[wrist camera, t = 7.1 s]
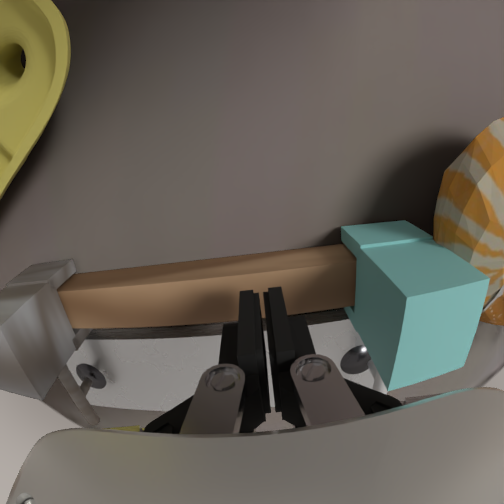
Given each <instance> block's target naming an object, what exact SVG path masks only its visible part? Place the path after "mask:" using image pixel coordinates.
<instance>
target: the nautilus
mask: <svg viewBox="0 0 504 504" xmlns="http://www.w3.org/2000/svg"><path fill="white" fill-rule="evenodd" d="M433 240H434V241H435V242H436V243H437V244H439V245H441V246H443V247H445V248H447V249H448V250H450V251H451V252H453V253H454V254H456V255H457V256H459V257H460V258H462V259H463V260H465V261H466V262H468V263H469V264H471V265H472V266H474V267H475V268H476V269H478V270H479V271H481V272H482V273H483V274H485V275H486V276H488V277H489V278H490V281H489V285H488V290H487V294H486V298H485V302H484V305H483V309H482V313H481V316H480V319H479V321H482V322H486V323H490V324H494V325H503V326H504V117H503V118H501V119H498V120H496V121H493V122H492V123H491V124H490V125H489V126H488V127H487V128H485V129H484V130H483V131H482V132H481V133H480V134H479V135H478V136H476V137H475V138H474V140H473V141H472V142H471V143H470V144H469V145H468V146H467V147H466V149H465V150H464V151H463V152H462V153H461V154H460V155H459V156H458V157H457V158H456V159H455V161H454V162H453V163H452V164H451V165H450V166H449V167H448V168H447V169H446V170H445V171H444V175H443V179H442V183H441V187H440V190H439V194H438V198H437V204H436V209H435V214H434V231H433Z"/></svg>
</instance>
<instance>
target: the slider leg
mask: <svg viewBox="0 0 504 504" xmlns="http://www.w3.org/2000/svg"><path fill="white" fill-rule="evenodd" d="M341 241H342V242H343V243H344V244H345V245H346V246H347V248H348V249H349V250H350V251H351V252H352V253H353V254H354V255H355V257H356V258H357V264H356V291H355V306H349V307H343V308H344V310H345V312H346V314H347V315H348V317H349V319H350V321H351V323H352V325H353V327H354V329H355V331H356V332H358V334H359V335H360V337H361V339H362V341H363V343H364V345H365V347H366V349H367V351H368V353H369V355H370V357H371V360H369V361H368V363H367V365H368V367H369V370H370V372H371V374H372V376H373V378H374V384H373V388H372V389H373V390H376V391H378V392H381V393H384V394H387V391H390V390H394V389H398V388H401V387H405V386H408V385H411V384H415V383H418V382H421V381H424V380H427V379H430V378H433V377H436V376H439V375H442V374H445V373H447V372H450V371H453V370H455V369H458V368H461V367H463V366H464V363H465V361H466V358H467V355H468V353H469V350H470V347H471V344H472V341H473V338H474V335H475V332H476V329H477V326H478V323H479V319H480V316H481V313H482V309H483V305H484V302H485V298H486V294H487V290H488V285H489V281H490V278H489V277H488V276H486V275H485V274H483V273H482V272H481V271H479V270H478V269H476V268H475V267H474V266H472V265H471V264H469V263H468V262H466V261H465V260H463V259H462V258H460V257H459V256H457V255H456V254H454V253H453V252H451V251H450V250H448V249H447V248H445V247H443V246H441V245H439V244H437V243H436V242H435V241H434V240H433V236H431V235H429V234H428V233H426V232H424V231H423V230H421V229H419V228H418V227H416V226H414V225H413V224H411V223H409V222H407V221H406V220H402V221H392V222H381V223H371V224H361V225H351V226H341Z"/></svg>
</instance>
